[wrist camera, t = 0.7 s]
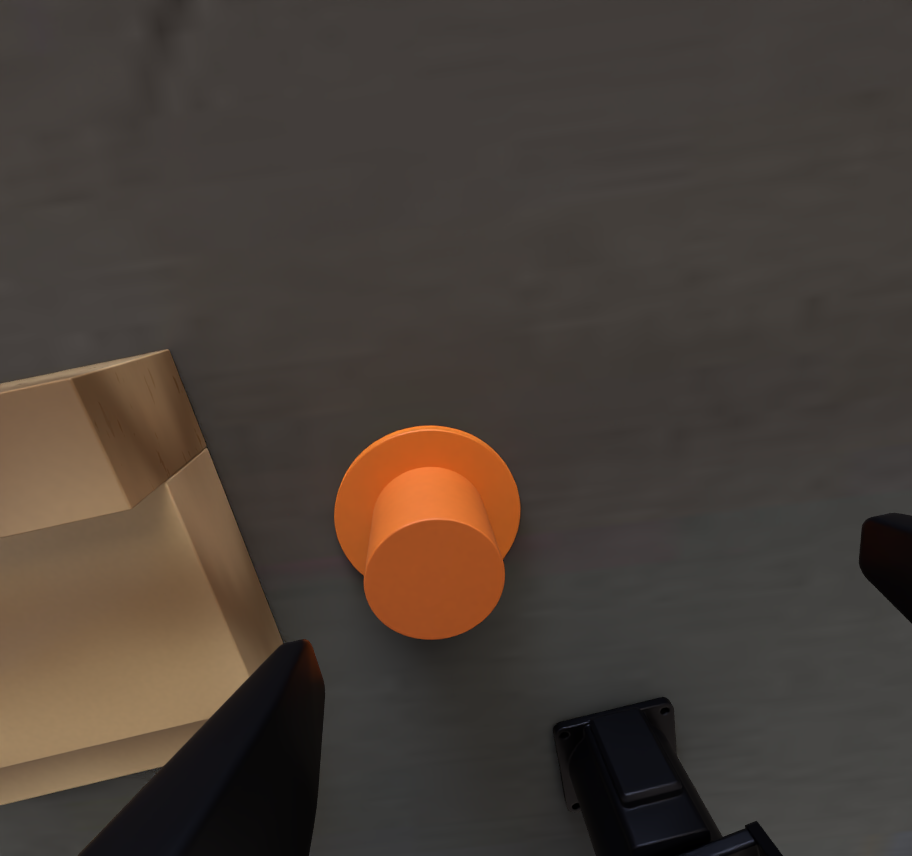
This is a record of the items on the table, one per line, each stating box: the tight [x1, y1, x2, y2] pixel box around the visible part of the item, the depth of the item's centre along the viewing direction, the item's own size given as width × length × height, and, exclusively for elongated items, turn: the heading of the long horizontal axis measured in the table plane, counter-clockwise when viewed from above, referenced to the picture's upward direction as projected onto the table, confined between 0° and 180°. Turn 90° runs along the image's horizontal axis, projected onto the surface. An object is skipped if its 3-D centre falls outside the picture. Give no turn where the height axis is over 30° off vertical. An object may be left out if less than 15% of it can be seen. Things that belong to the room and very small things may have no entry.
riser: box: [0, 349, 283, 805], centre depth 18 cm, size 18×14×6 cm
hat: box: [334, 426, 520, 640], centre depth 18 cm, size 8×8×5 cm
